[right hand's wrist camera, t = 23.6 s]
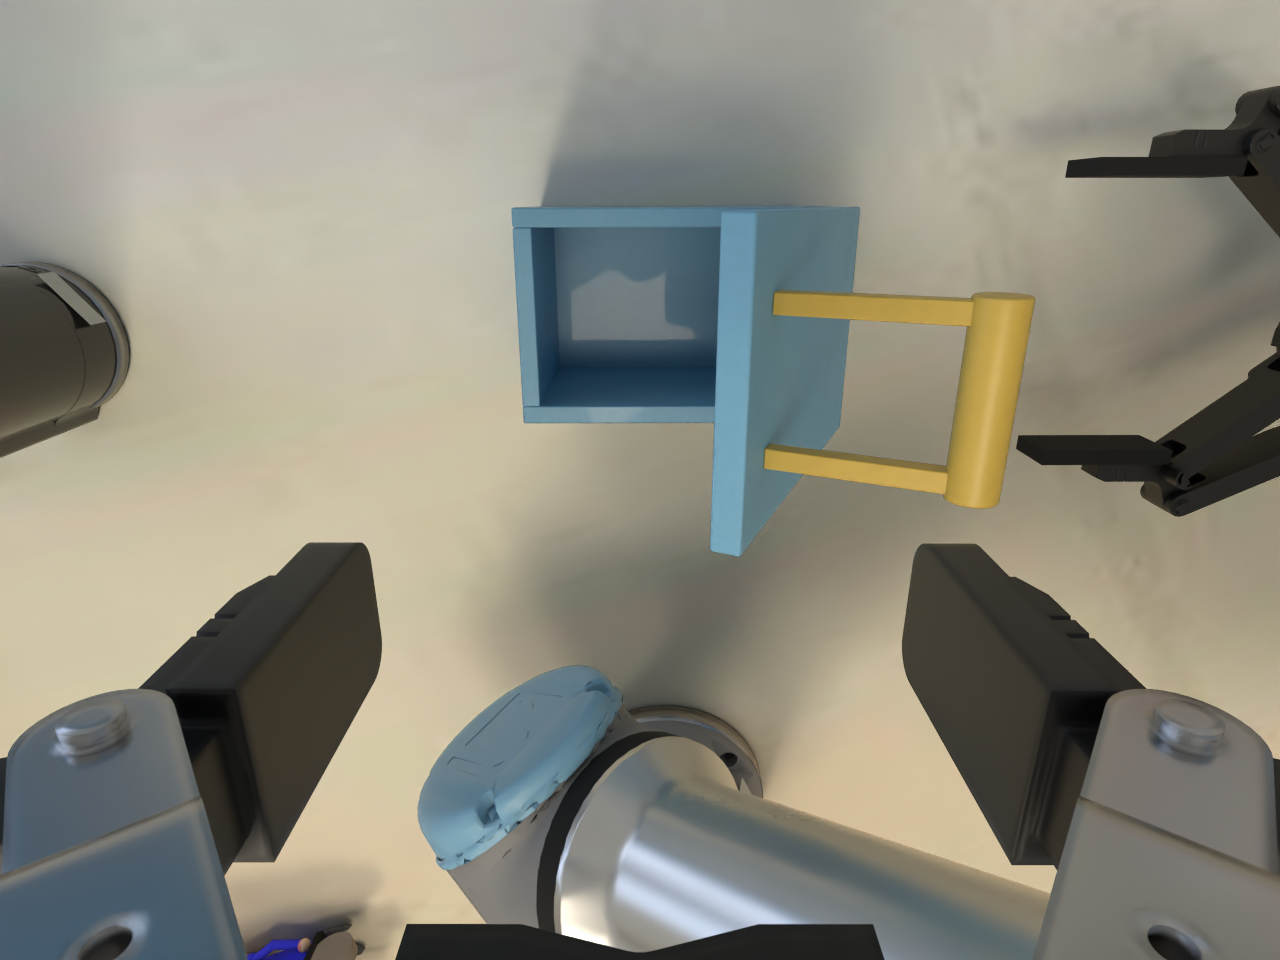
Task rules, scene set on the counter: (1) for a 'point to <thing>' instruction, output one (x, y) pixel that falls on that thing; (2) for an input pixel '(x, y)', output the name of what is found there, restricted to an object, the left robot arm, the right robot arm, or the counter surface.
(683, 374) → the chest
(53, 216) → the counter surface
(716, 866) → the left robot arm
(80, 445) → the counter surface
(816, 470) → the lid
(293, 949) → the figurine character
